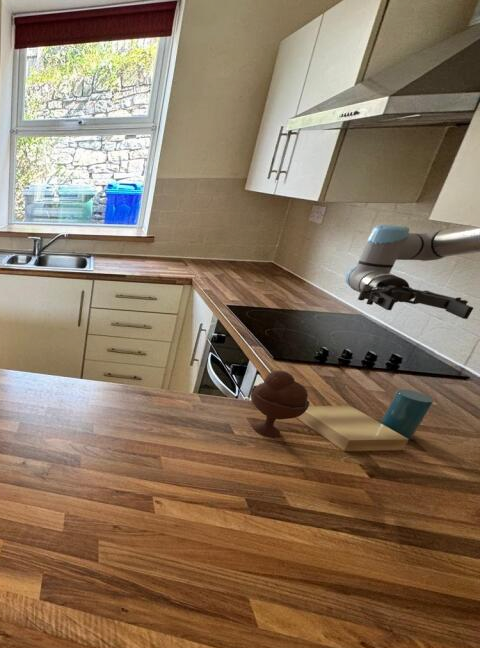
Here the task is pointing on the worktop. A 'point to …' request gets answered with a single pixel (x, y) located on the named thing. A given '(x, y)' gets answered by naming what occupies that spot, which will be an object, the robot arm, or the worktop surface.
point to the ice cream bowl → (278, 401)
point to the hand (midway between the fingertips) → (429, 308)
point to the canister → (406, 412)
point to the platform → (351, 429)
